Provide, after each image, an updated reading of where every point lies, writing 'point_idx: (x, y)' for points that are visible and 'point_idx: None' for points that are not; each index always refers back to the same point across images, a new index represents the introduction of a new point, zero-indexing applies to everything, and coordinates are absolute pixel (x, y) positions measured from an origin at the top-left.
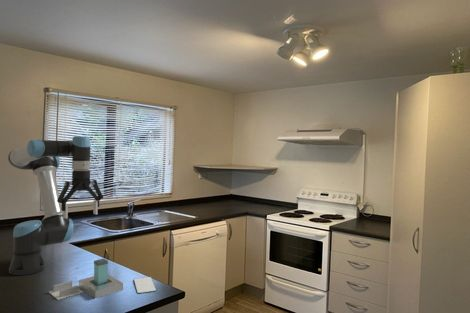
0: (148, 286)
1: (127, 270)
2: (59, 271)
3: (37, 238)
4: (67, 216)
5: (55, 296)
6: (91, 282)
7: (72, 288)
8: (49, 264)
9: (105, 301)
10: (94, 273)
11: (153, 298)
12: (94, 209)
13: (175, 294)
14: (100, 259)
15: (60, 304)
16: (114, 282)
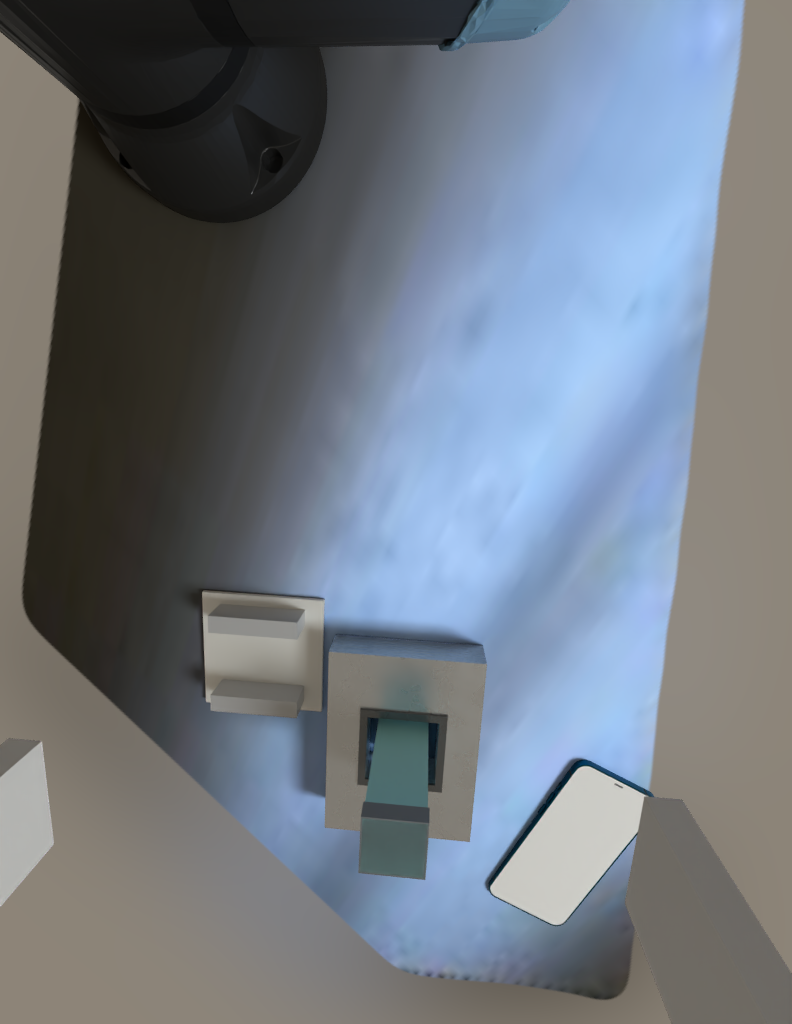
0: (565, 877)
1: (657, 614)
2: (361, 307)
3: (110, 27)
4: (22, 875)
5: (207, 669)
6: (359, 732)
7: (266, 714)
8: (370, 81)
9: (348, 849)
10: (372, 761)
11: (501, 961)
12: (687, 958)
13: (589, 997)
14: (405, 825)
15: (202, 744)
16: (443, 808)
